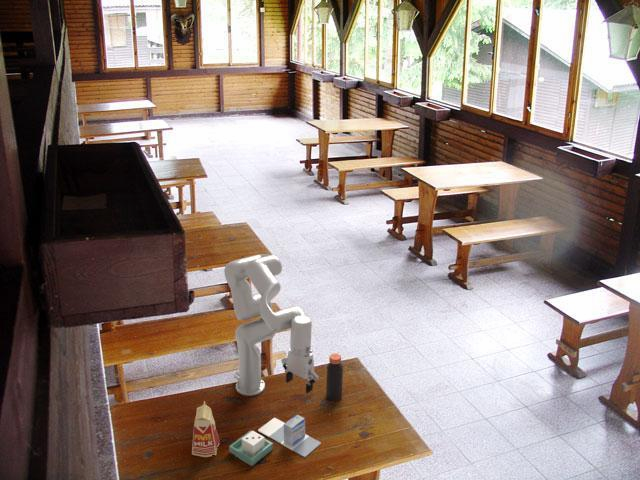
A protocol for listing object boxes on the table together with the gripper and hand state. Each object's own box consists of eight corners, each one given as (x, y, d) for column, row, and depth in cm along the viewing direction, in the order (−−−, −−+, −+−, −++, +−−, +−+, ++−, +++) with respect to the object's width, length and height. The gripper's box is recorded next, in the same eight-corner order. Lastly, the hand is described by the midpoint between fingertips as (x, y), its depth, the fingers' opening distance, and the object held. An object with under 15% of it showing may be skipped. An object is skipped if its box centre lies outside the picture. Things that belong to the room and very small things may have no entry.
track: (257, 430, 252) (257, 430, 252) (274, 418, 260) (274, 417, 259) (304, 457, 239) (304, 456, 239) (321, 443, 246) (321, 442, 246)
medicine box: (292, 447, 243) (292, 428, 240) (283, 442, 246) (283, 423, 243) (305, 436, 249) (305, 418, 246) (296, 431, 252) (296, 413, 248)
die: (242, 451, 240) (241, 438, 238) (253, 443, 245) (252, 430, 242) (253, 458, 237) (253, 445, 235) (264, 449, 241) (264, 437, 239)
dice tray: (229, 452, 241) (229, 446, 239) (250, 436, 249) (250, 430, 248) (251, 466, 234) (251, 459, 233) (272, 449, 243) (272, 443, 241)
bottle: (324, 399, 271) (325, 359, 264) (328, 390, 278) (329, 351, 270) (340, 402, 270) (341, 362, 262) (343, 392, 276) (344, 353, 268)
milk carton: (196, 440, 246) (193, 397, 239) (220, 441, 246) (218, 398, 238) (191, 457, 238) (188, 413, 230) (215, 458, 238) (213, 414, 230)
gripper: (325, 352, 232) (323, 390, 239) (289, 335, 242) (288, 372, 249) (312, 361, 227) (310, 400, 234) (275, 343, 236) (275, 381, 243)
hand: (299, 386), depth 241 cm, fingers open, 9 cm apart
